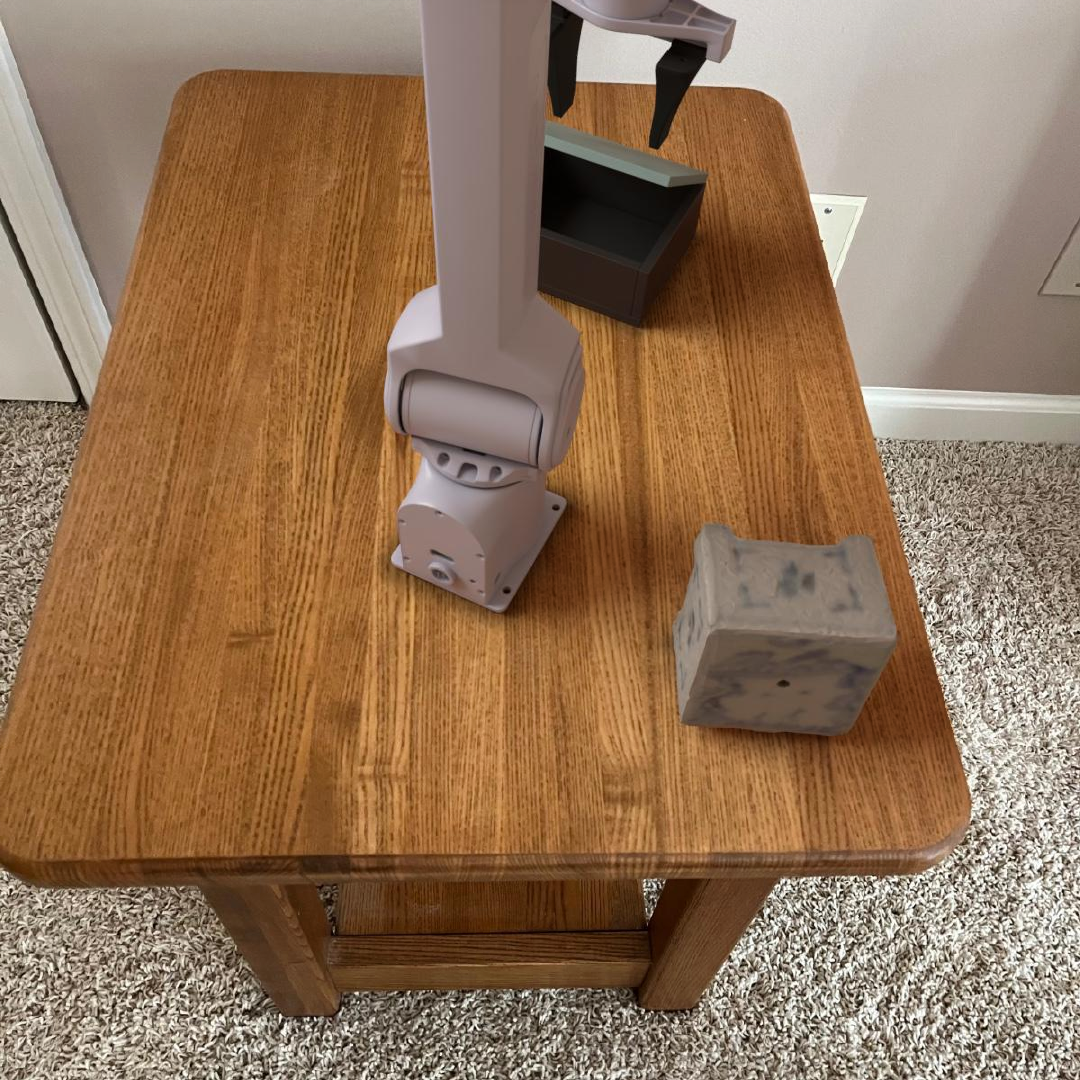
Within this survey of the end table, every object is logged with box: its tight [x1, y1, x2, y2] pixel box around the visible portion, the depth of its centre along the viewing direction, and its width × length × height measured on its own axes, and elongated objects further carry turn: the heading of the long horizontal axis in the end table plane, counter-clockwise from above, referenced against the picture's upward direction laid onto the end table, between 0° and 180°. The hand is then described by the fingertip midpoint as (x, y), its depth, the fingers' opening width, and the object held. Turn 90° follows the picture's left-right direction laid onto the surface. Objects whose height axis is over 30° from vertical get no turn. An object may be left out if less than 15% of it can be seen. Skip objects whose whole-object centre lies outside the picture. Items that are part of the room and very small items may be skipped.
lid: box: [544, 119, 710, 187], centre depth 71 cm, size 12×14×1 cm
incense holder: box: [671, 522, 899, 737], centre depth 54 cm, size 10×8×10 cm
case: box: [537, 146, 707, 329], centre depth 76 cm, size 12×14×5 cm
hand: (610, 125), depth 70 cm, fingers open, 7 cm apart
